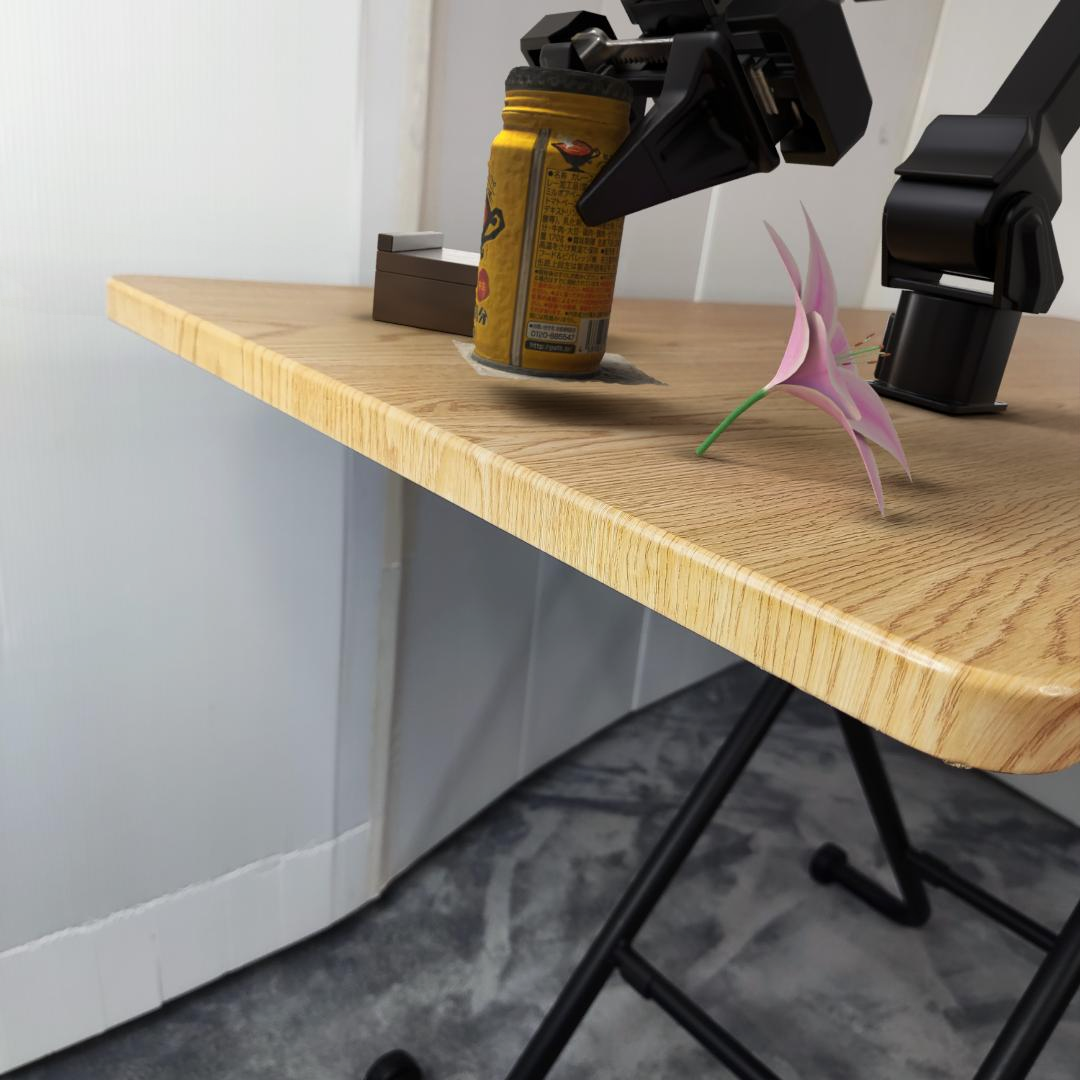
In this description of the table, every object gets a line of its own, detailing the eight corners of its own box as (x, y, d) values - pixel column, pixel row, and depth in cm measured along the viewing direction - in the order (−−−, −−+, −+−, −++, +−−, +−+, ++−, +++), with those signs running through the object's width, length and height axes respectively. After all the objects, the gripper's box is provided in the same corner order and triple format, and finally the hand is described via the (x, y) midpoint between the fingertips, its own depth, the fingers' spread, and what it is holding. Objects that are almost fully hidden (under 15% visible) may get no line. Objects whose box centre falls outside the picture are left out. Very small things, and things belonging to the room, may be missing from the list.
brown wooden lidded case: (571, 330, 67) (582, 254, 65) (540, 348, 58) (552, 260, 56) (424, 305, 69) (431, 231, 67) (371, 319, 59) (377, 233, 58)
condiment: (451, 344, 45) (475, 66, 41) (618, 357, 47) (659, 95, 43) (478, 380, 39) (510, 54, 34) (670, 394, 41) (724, 89, 37)
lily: (738, 563, 30) (973, 321, 26) (554, 346, 36) (723, 126, 33) (878, 599, 39) (1067, 422, 35) (712, 420, 45) (857, 255, 42)
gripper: (579, -174, 44) (342, 44, 42) (903, -305, 30) (563, 18, 28) (680, 45, 51) (479, 241, 49) (983, 24, 37) (714, 301, 35)
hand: (541, 209), depth 40 cm, fingers closed on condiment, 6 cm apart
